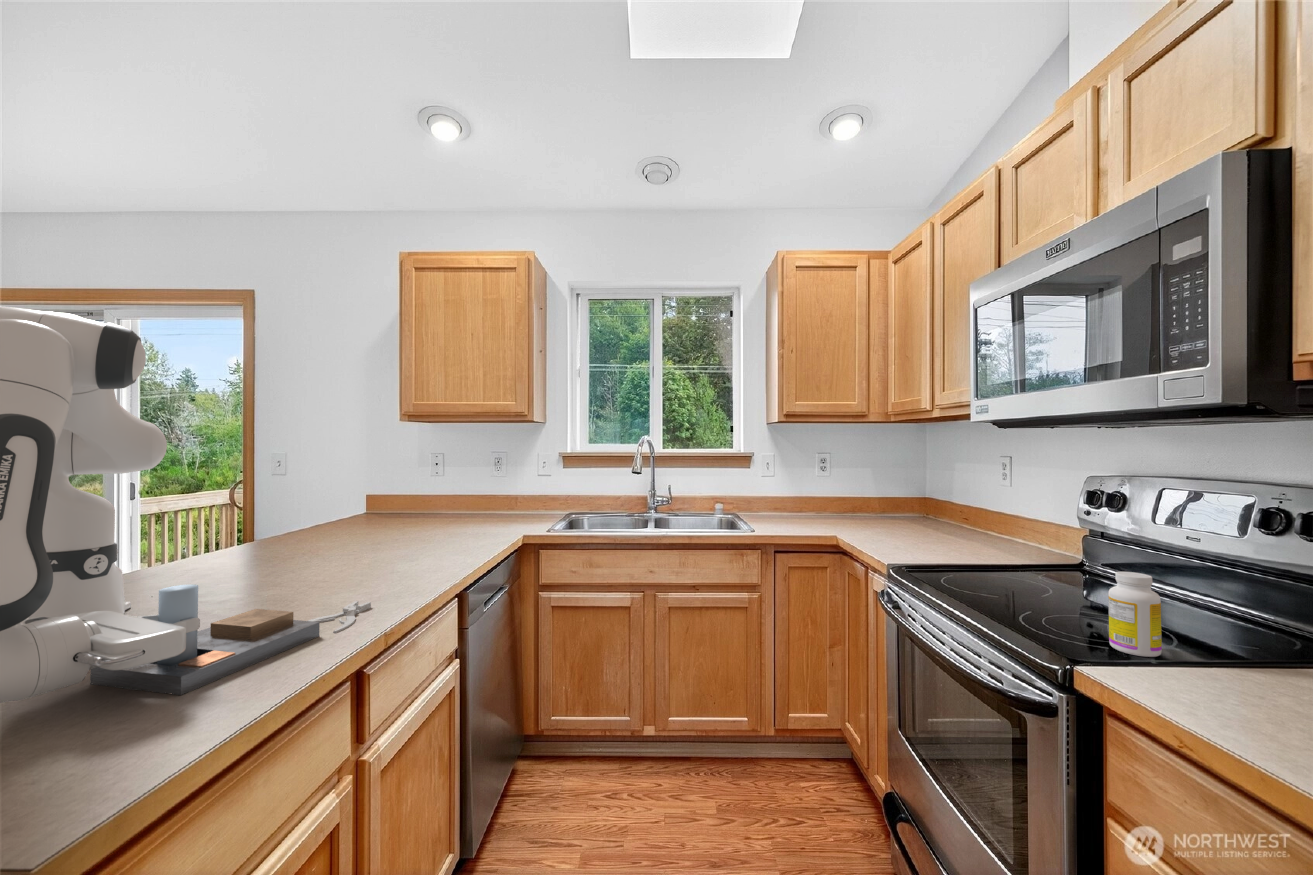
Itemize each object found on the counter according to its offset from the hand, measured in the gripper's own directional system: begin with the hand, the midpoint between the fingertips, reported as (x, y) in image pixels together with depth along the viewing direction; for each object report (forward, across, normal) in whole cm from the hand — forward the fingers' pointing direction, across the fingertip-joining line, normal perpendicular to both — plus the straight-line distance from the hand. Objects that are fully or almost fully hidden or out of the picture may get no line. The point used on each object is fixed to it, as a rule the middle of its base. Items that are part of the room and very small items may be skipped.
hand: (185, 620), depth 80 cm
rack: (+5, +1, +8) cm, 9 cm away
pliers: (+26, +1, +8) cm, 27 cm away
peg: (-1, 0, +6) cm, 6 cm away
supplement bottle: (+65, -138, +8) cm, 152 cm away
